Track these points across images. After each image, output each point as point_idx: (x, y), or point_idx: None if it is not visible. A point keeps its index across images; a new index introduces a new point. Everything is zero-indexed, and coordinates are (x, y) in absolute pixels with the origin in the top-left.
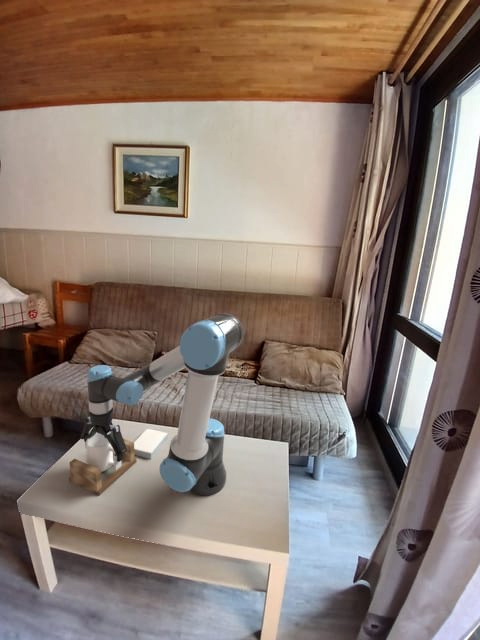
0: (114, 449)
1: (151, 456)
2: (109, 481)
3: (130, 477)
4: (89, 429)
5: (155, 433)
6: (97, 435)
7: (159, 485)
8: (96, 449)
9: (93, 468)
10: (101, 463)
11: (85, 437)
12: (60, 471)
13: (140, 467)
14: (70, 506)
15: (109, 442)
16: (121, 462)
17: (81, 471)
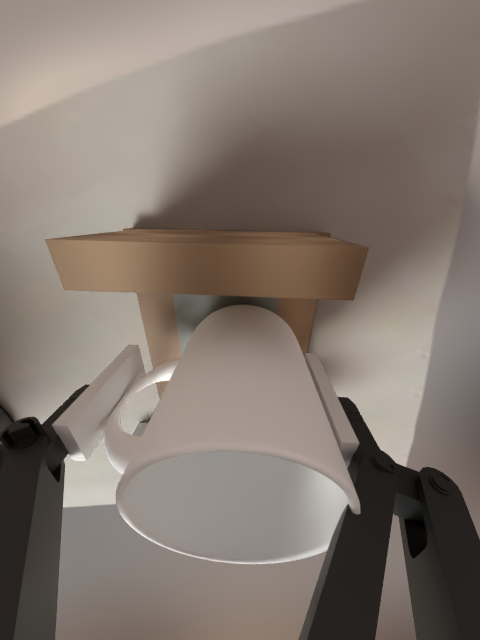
0: (22, 472)
1: (135, 431)
2: (145, 298)
3: (121, 347)
4: (422, 636)
5: None
6: (311, 527)
7: (16, 354)
8: (162, 431)
9: (119, 276)
10: (186, 347)
11: (402, 498)
12: (410, 262)
13: None
14: (185, 93)
15: (18, 560)
16: None
17: (225, 239)
